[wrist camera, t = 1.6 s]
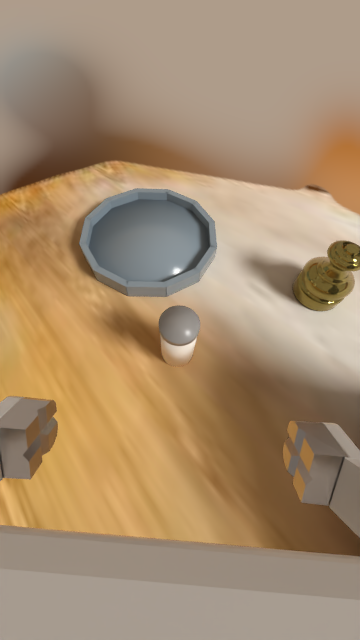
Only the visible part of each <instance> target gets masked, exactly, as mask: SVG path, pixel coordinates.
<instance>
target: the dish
mask: <svg viewBox="0 0 360 640" xmlns="http://www.w3.org/2000/svg"><path fill="white" fill-rule="evenodd" d="M79 245H80V247H81V250H82V252H83V255H84V257H85V258H86V260H87V262H88V264H89V266H90V268H91V270H92V271H93V273H94V275H95V277H96V279H97V280H98V281H100V282H102V283H104V284H106V285H108V286H110V287H111V288H113V289H115V290H117V291H119V292H121V293H123V294H125V295H127V296H149V297H167V296H169V295H171V294H173V293H176V292H178V291H180V290H182V289H184V288H186V287H188V286H191V285H193V284H195V283H197V282H199V280H200V279H201V277H202V276H203V274H204V273H205V271H206V270H207V268H208V267H209V265H210V264H211V262H212V261H213V259H214V258H215V253H216V249H217V242H216V232H215V222H214V220H213V219H212V218H211V217H210V216H209V215H208V213H207V212H206V211H205V210H204V209H203V208H202V207H201V206H200V204H199V203H198V202H197V201H195V200H193V199H190V198H188V197H185V196H183V195H181V194H178V193H176V192H173V191H171V190H168V189H138V188H137V189H133V190H130V191H127V192H124V193H121V194H118V195H115V196H112V197H109V198H106V199H105V200H104V201H103V202H102V203H101V204H100V205H99V206H98V207H96V208H95V209H94V210H93V211H92V212H91V213H90V214H89V215H88V216H87V217H86V218H85V221H84V225H83V229H82V234H81V238H80V242H79Z"/></svg>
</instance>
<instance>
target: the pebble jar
mask: <svg viewBox="0 0 360 640" xmlns="http://www.w3.org/2000/svg"><path fill="white" fill-rule="evenodd" d="M199 329H200V320H199V317H198V315H197V314H196V313H195V312H194V311H193V310H192V309H190V308H188V307H185V306H173V307H170V308H168V309H167V310H165V311H164V312H163V313H162V315H161V316H160V319H159V332H160V338H161V354H162V357H163V359H164V361H165V362H166V363H167V364H169V365H171V366H175V367H180V366H184V365H186V364H187V363H188V362H189V361H190V360H191V358H192V356H193V351H194V347H195V343H196V338H197V336H198V333H199Z"/></svg>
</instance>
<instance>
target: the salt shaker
mask: <svg viewBox="0 0 360 640" xmlns="http://www.w3.org/2000/svg"><path fill="white" fill-rule="evenodd" d="M327 254H328V257H316V258H313V259H311V260H309V261H308V262H307V263H306V264H305V266H304V267H303V270H302V271H301V272H300V273H299V274H298V277H297V278H296V279H295V281H294V283H293V291H294V294H295V296H296V298H297V299H298V300H299V301H300V302H301V303H302V304H303V305H304V306H306V307H308V308H310V309H313V310H316V311H327V310H330V309H332V308H334V307H335V306H336V305H337V304H338V303H340V302H341V301H342V300H343V299H344V298H345V297H346V296H347V295H349V294H350V293H351V292H352V290H353V288H354V285H355V280H354V276H353V274H352V272H351V271H357V270H360V246H358V245H357V244H355V243H353V242H350V241H344V240H340V241H336V242H333V243H332V244H331V245H330V246H329V248H328V250H327Z"/></svg>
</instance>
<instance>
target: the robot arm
mask: <svg viewBox="0 0 360 640" xmlns="http://www.w3.org/2000/svg"><path fill="white" fill-rule="evenodd" d="M56 411H57V409H56V402H55V401H54V400H46V399H37V398H28V397H17V396H9V397H6V398H5V399H4V400H3V401H2V402H1V403H0V481H1V480H2V479H3V478H16V479H31V478H32V477H33V475H34V474H35V472H36V471H37V469H38V468H39V466H40V465H41V463H42V455H44V454H45V453H47V452H49V451H50V449H51V448H52V446H53V445H54V442H55V439H56V436H57V430H58V423H57V421H56V420H55V418H54V417H53V415H54V414H55V413H56ZM287 432H288V434H289V436H290V437H289V438H288V439H287V440H285V441H284V446H283V460H284V464H285V467H286V469H287V471H288V472H289V473H290V474H291V475H292V476H293V477H294V480H293V485H294V488H295V490H296V492H297V494H298V497H299V499H300V501H301V503H309V504H318V505H326V506H329V508H330V509H331V510H332V511H333V512H334V513H335V514H336V515H337V516H338V517H339V518H340V519H341V520H342V521H343V522H344V523H345V524H346V525H347V526H348V527H349V528H350V529H351V530H352V531H353V532H354V533H355V534H356V535H357V536H358V537H359V538H360V450H359V449H358V448H357V447H356V445H355V444H354V443H353V442H352V441H351V439H350V438H349V437H348V436H347V434H346V433H345V432H344V431H343V430H342V428H341V427H340V426H339V425H337V424H336V423H323V422H320V423H316V422H303V421H290V423H289V424H288V428H287ZM0 640H360V556H351V555H339V554H327V553H316V552H304V551H293V550H281V549H270V548H259V547H248V546H236V545H225V544H214V543H202V542H191V541H179V540H167V539H156V538H144V537H133V536H121V535H110V534H98V533H86V532H75V531H63V530H52V529H40V528H29V527H17V526H6V525H0Z"/></svg>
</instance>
